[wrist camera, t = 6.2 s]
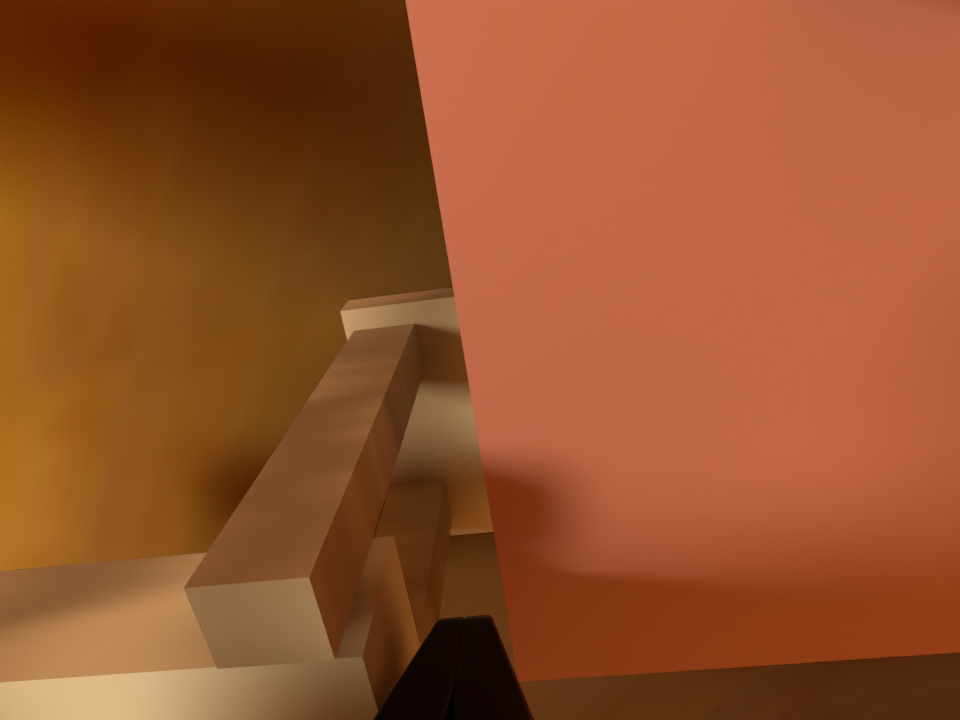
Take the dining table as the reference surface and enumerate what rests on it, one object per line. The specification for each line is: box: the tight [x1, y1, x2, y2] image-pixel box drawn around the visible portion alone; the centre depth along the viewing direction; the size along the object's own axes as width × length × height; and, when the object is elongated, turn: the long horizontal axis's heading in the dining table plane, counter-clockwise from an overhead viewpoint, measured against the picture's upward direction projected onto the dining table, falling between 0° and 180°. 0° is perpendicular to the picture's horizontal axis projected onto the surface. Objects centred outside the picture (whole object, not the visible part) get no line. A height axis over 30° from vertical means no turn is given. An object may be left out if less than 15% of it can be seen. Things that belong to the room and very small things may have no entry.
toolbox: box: [184, 287, 493, 669], centre depth 9 cm, size 17×15×9 cm
